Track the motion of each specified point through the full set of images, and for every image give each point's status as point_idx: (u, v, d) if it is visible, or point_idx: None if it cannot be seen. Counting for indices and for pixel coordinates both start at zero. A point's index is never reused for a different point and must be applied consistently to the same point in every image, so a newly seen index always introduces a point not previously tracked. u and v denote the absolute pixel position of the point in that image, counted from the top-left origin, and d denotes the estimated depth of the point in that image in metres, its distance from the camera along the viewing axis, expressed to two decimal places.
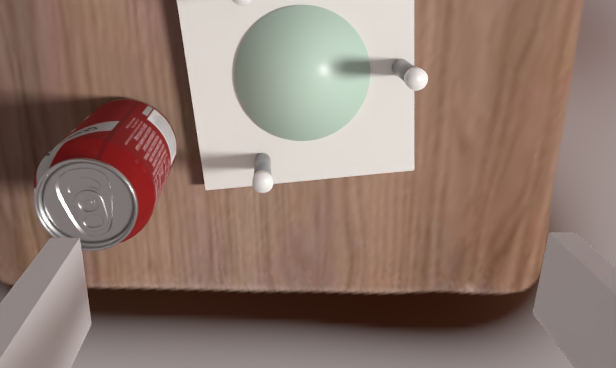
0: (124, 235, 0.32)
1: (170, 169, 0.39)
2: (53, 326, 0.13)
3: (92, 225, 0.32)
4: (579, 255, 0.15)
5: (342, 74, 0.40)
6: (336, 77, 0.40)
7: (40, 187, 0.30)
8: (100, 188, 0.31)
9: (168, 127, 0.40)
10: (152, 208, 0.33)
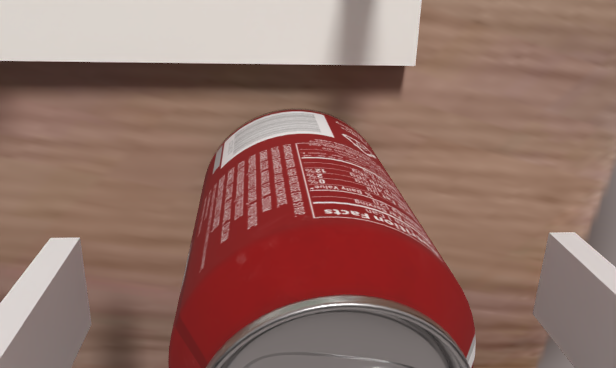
0: (449, 347, 0.10)
1: (345, 137, 0.18)
2: (52, 326, 0.13)
3: None
4: (579, 255, 0.15)
5: None
6: None
7: None
8: None
9: (261, 122, 0.19)
10: (392, 238, 0.11)
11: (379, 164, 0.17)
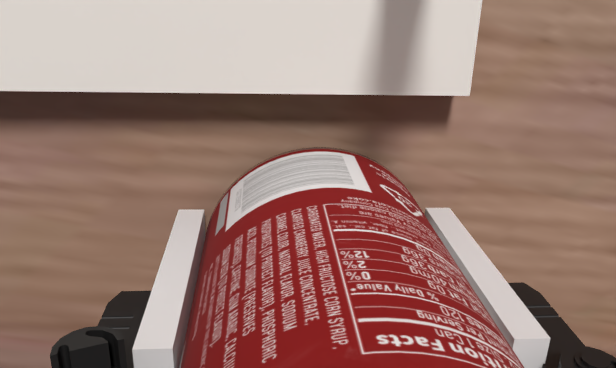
0: None
1: (384, 189, 0.14)
2: None
3: None
4: (444, 227, 0.16)
5: None
6: None
7: None
8: None
9: (276, 166, 0.15)
10: None
11: (429, 226, 0.14)
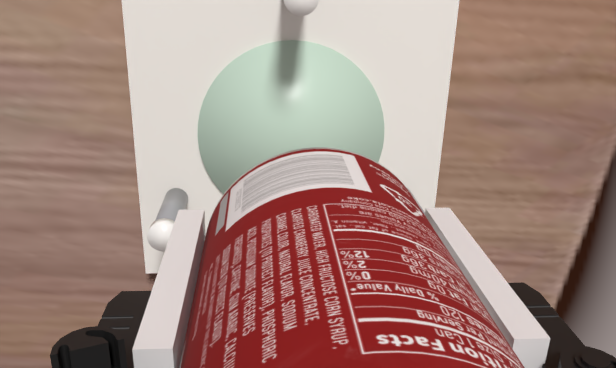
0: None
1: (384, 189, 0.14)
2: None
3: None
4: (443, 227, 0.16)
5: (295, 82, 0.28)
6: (298, 91, 0.28)
7: None
8: None
9: (276, 166, 0.15)
10: None
11: (429, 225, 0.14)
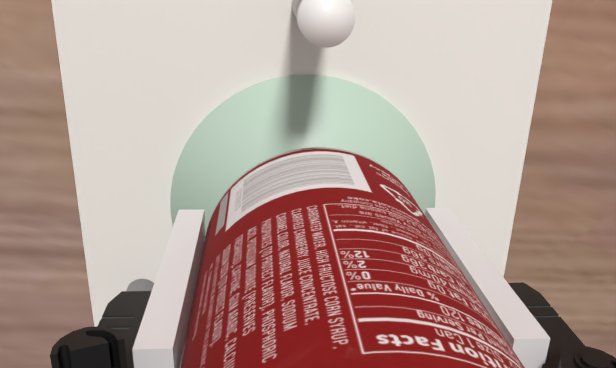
0: None
1: (384, 189, 0.14)
2: None
3: None
4: (443, 226, 0.16)
5: (311, 134, 0.19)
6: (315, 146, 0.19)
7: None
8: None
9: (276, 166, 0.15)
10: None
11: (429, 225, 0.14)
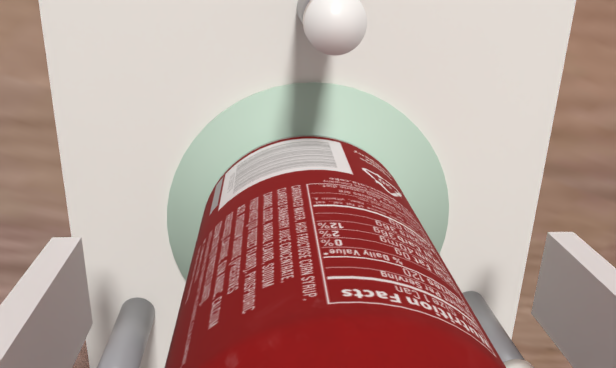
0: None
1: (365, 172, 0.15)
2: (54, 325, 0.13)
3: None
4: (577, 255, 0.15)
5: None
6: None
7: None
8: None
9: (267, 151, 0.16)
10: (432, 333, 0.08)
11: (406, 205, 0.15)
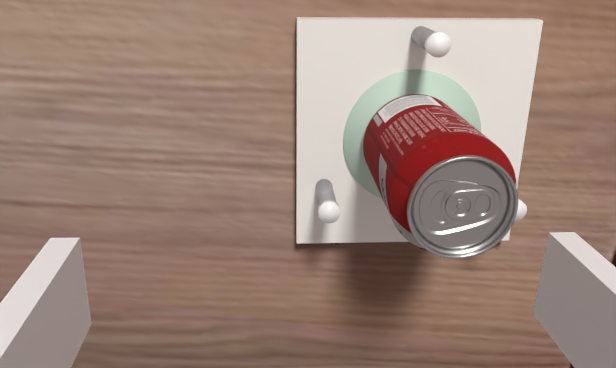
0: (507, 176, 0.27)
1: (446, 106, 0.35)
2: (53, 326, 0.13)
3: (487, 206, 0.28)
4: (579, 255, 0.15)
5: None
6: None
7: (432, 248, 0.29)
8: (446, 190, 0.28)
9: (399, 100, 0.36)
10: (482, 138, 0.28)
11: None
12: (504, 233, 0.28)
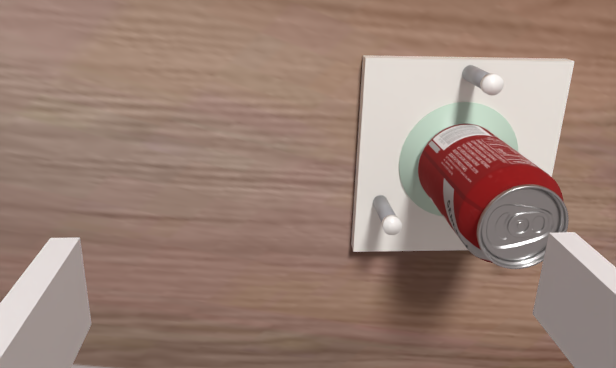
0: (560, 201, 0.33)
1: (495, 136, 0.40)
2: (52, 326, 0.13)
3: (541, 225, 0.34)
4: (579, 255, 0.15)
5: None
6: None
7: (496, 260, 0.34)
8: (509, 212, 0.34)
9: (452, 129, 0.42)
10: (538, 169, 0.34)
11: None
12: None
